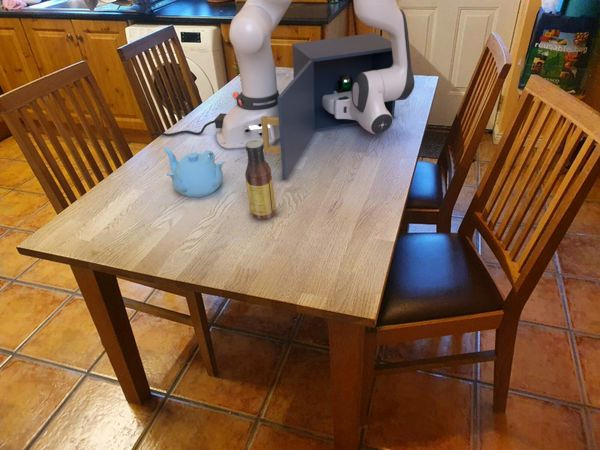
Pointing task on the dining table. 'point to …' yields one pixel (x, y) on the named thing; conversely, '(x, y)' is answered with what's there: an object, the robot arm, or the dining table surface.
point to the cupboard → (340, 69)
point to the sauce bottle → (259, 182)
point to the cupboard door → (293, 120)
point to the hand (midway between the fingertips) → (343, 91)
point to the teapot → (195, 173)
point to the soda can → (345, 83)
